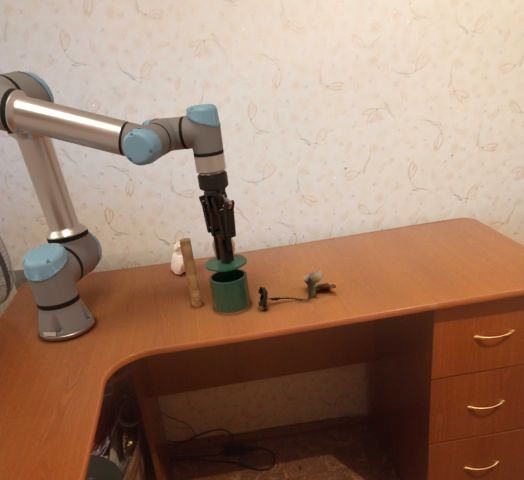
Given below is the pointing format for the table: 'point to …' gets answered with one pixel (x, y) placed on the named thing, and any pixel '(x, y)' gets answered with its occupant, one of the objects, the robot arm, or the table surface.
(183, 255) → the stick
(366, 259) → the table surface
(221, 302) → the pot
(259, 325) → the table surface
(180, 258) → the bust
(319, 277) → the artificial flower
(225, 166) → the robot arm
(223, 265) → the lid
